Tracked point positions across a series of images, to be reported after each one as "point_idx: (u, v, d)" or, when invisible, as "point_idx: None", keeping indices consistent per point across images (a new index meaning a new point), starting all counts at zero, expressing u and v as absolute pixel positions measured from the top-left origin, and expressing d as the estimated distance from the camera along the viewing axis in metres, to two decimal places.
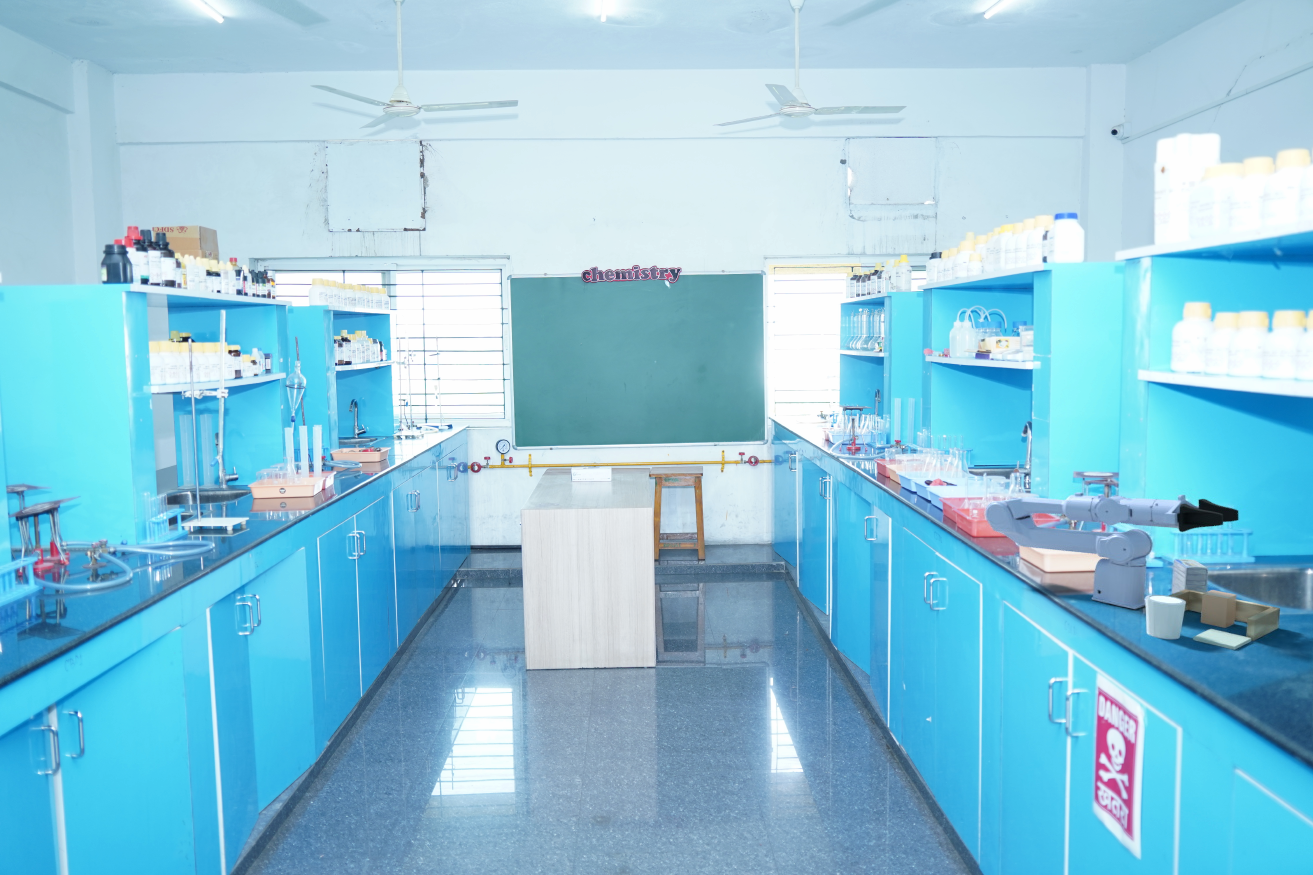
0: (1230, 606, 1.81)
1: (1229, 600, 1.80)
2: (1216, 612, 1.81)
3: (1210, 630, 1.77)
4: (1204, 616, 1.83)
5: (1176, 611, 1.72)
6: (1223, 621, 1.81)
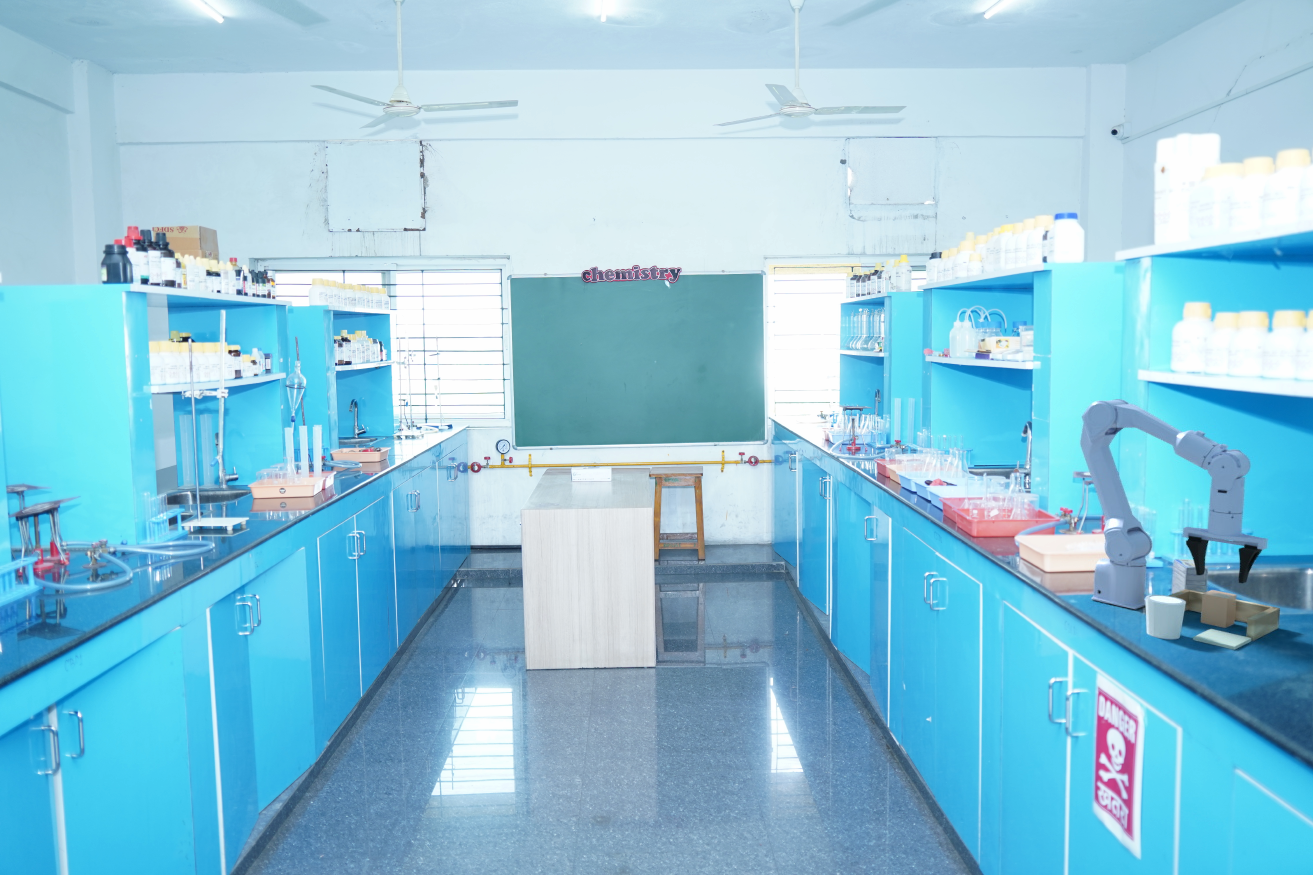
0: (1230, 606, 1.81)
1: (1229, 600, 1.80)
2: (1216, 612, 1.81)
3: (1210, 630, 1.77)
4: (1204, 616, 1.83)
5: (1176, 611, 1.72)
6: (1223, 621, 1.81)
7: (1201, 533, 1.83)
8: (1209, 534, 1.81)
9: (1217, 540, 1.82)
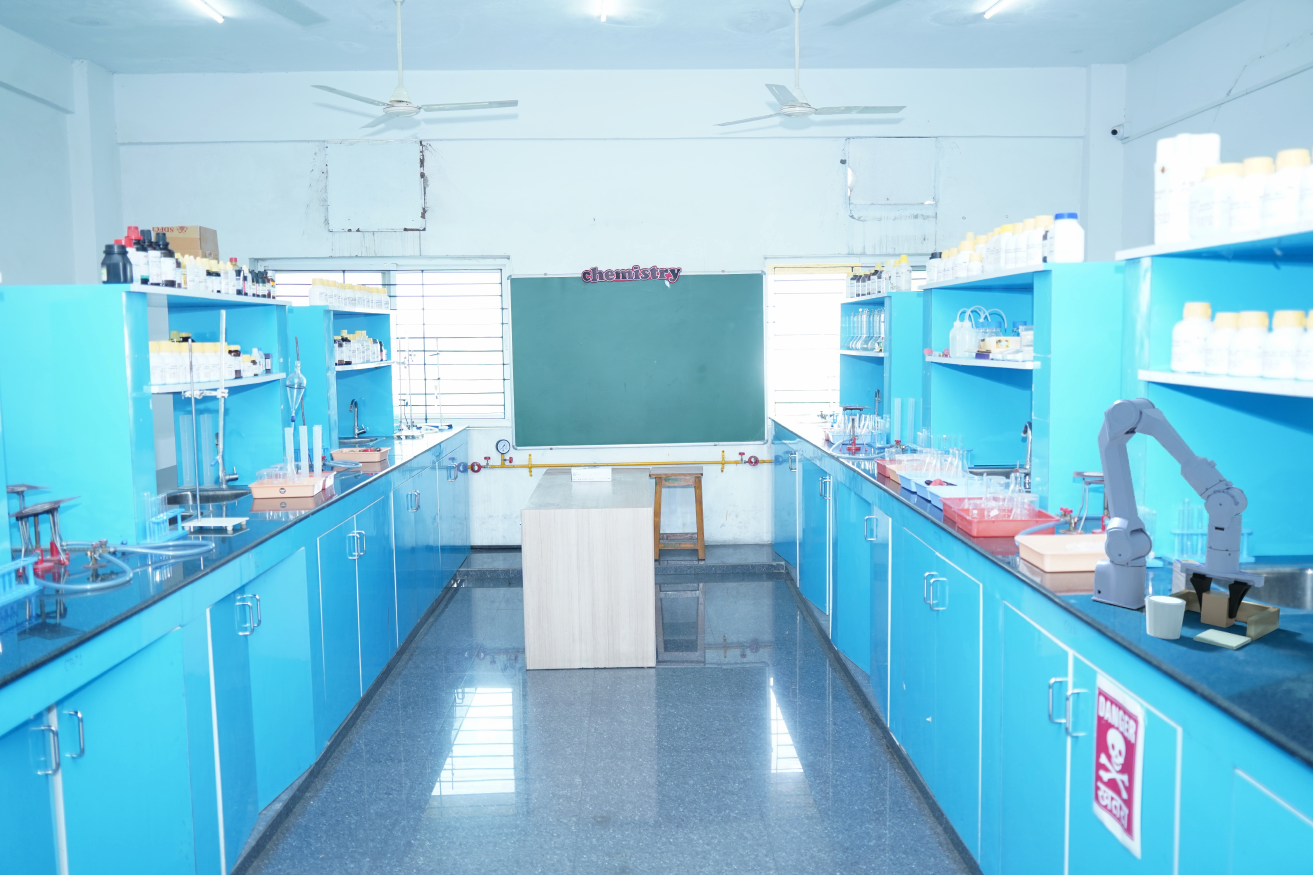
0: None
1: (1229, 600, 1.80)
2: (1216, 612, 1.81)
3: (1210, 630, 1.77)
4: (1204, 616, 1.83)
5: (1176, 611, 1.72)
6: (1223, 620, 1.81)
7: (1198, 569, 1.84)
8: (1206, 571, 1.82)
9: (1214, 576, 1.83)
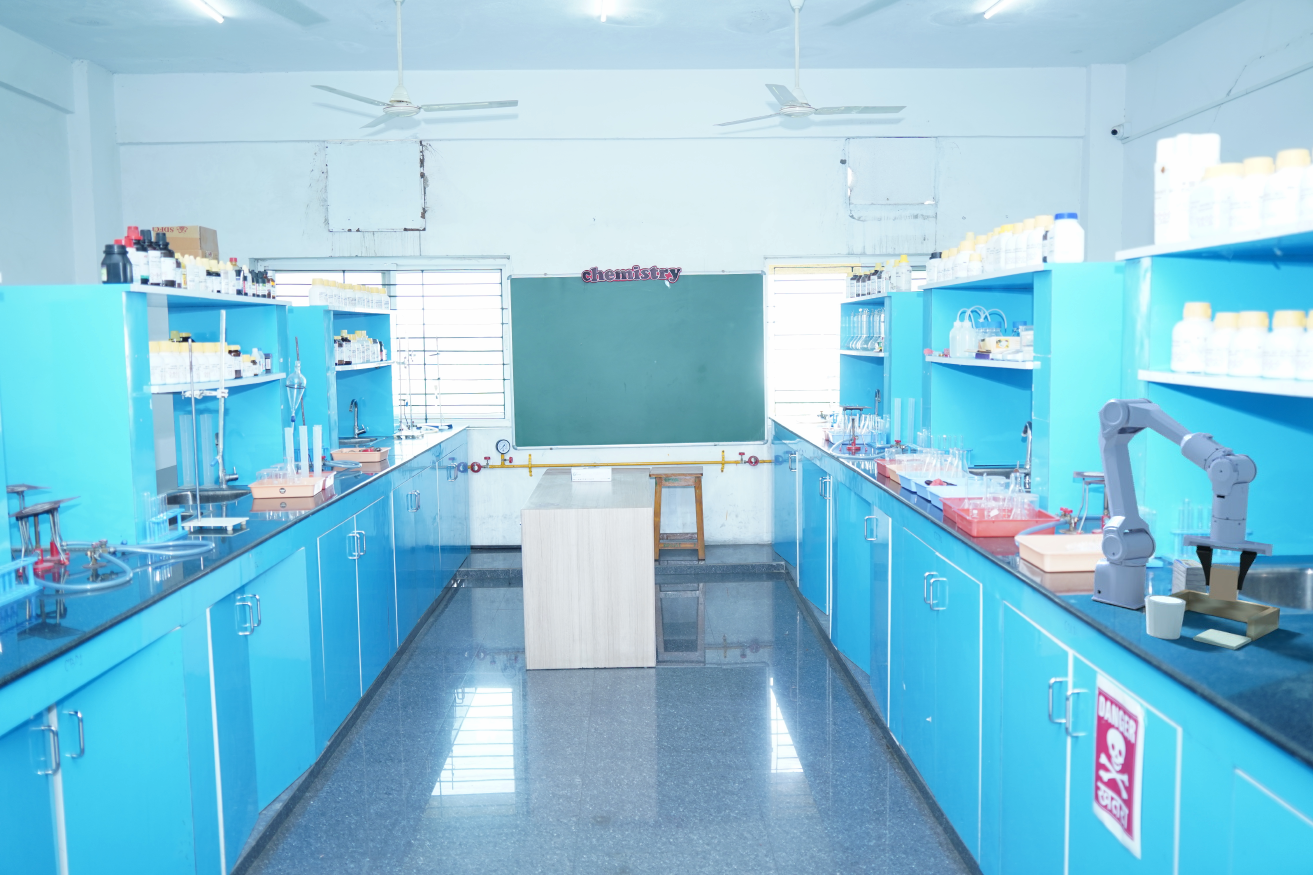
0: None
1: (1238, 573, 1.74)
2: (1226, 586, 1.75)
3: (1210, 630, 1.77)
4: (1212, 591, 1.76)
5: (1176, 611, 1.72)
6: (1233, 594, 1.74)
7: (1205, 541, 1.76)
8: (1215, 542, 1.75)
9: (1220, 548, 1.76)
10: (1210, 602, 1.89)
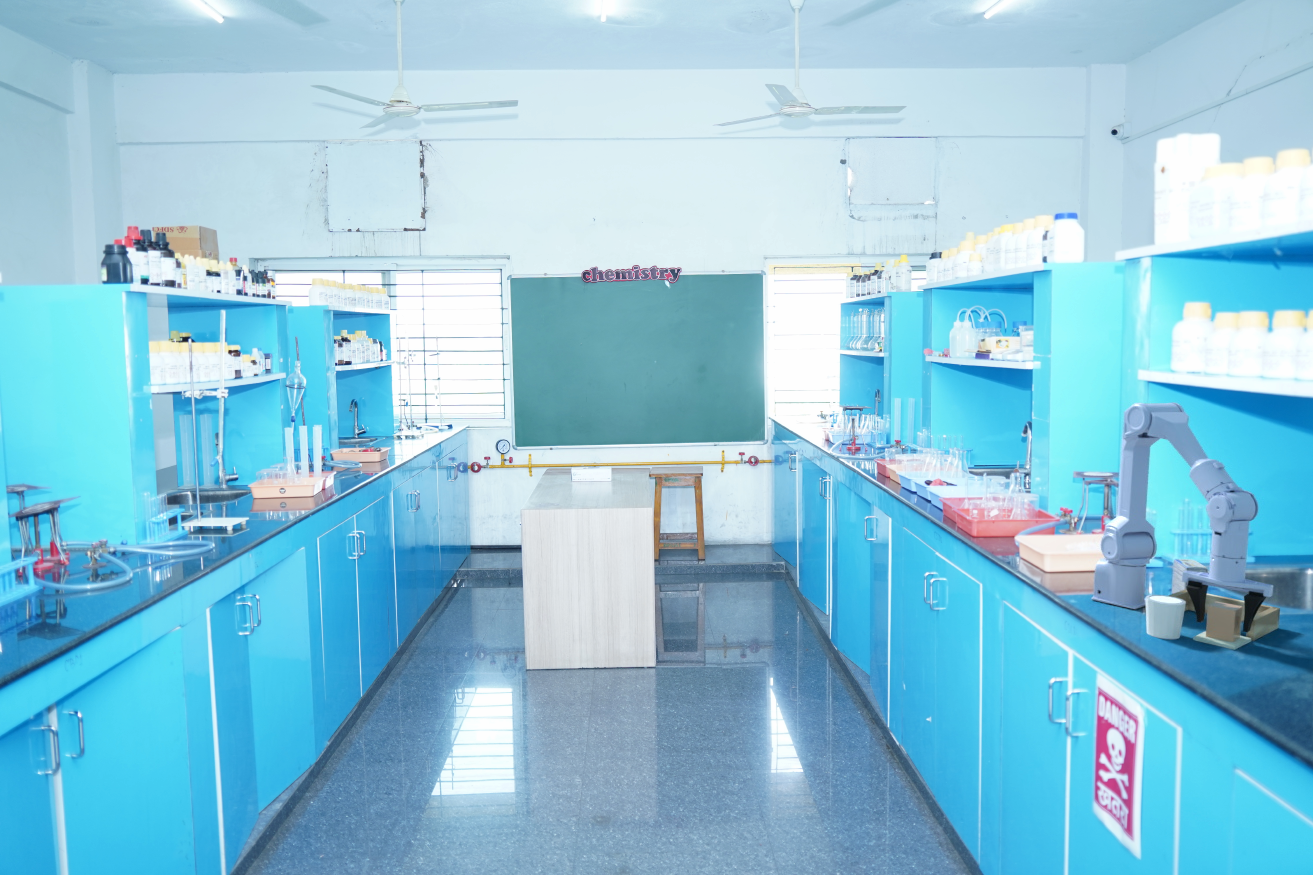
0: (1237, 618, 1.70)
1: (1236, 612, 1.70)
2: (1223, 625, 1.71)
3: None
4: (1209, 630, 1.72)
5: (1176, 611, 1.72)
6: (1230, 635, 1.70)
7: (1203, 578, 1.72)
8: (1212, 580, 1.71)
9: (1219, 586, 1.72)
10: (1210, 602, 1.89)
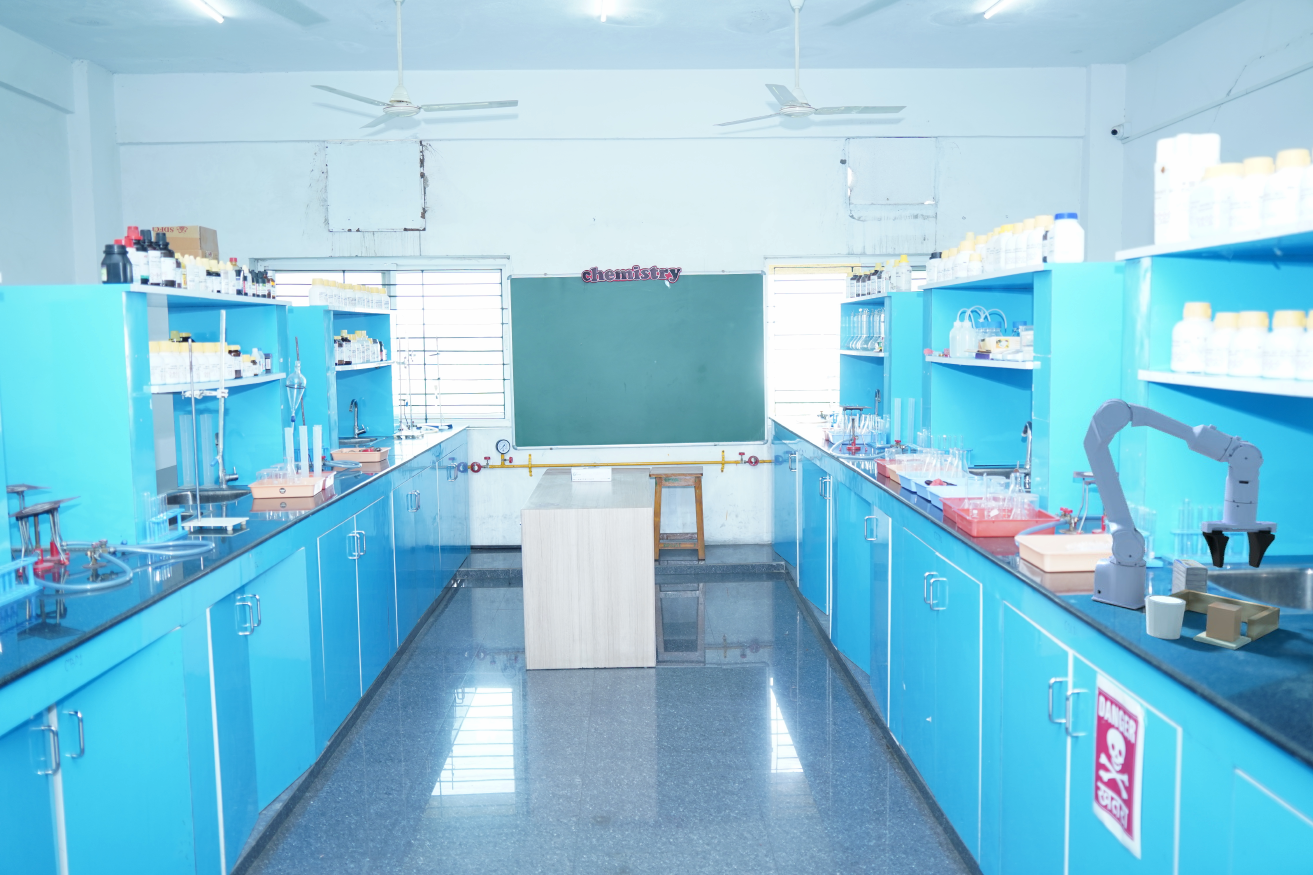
0: (1237, 618, 1.70)
1: (1236, 612, 1.70)
2: (1223, 625, 1.71)
3: None
4: (1209, 630, 1.72)
5: (1176, 611, 1.72)
6: (1230, 635, 1.70)
7: (1229, 526, 1.84)
8: (1239, 526, 1.83)
9: (1235, 530, 1.86)
10: (1210, 602, 1.89)
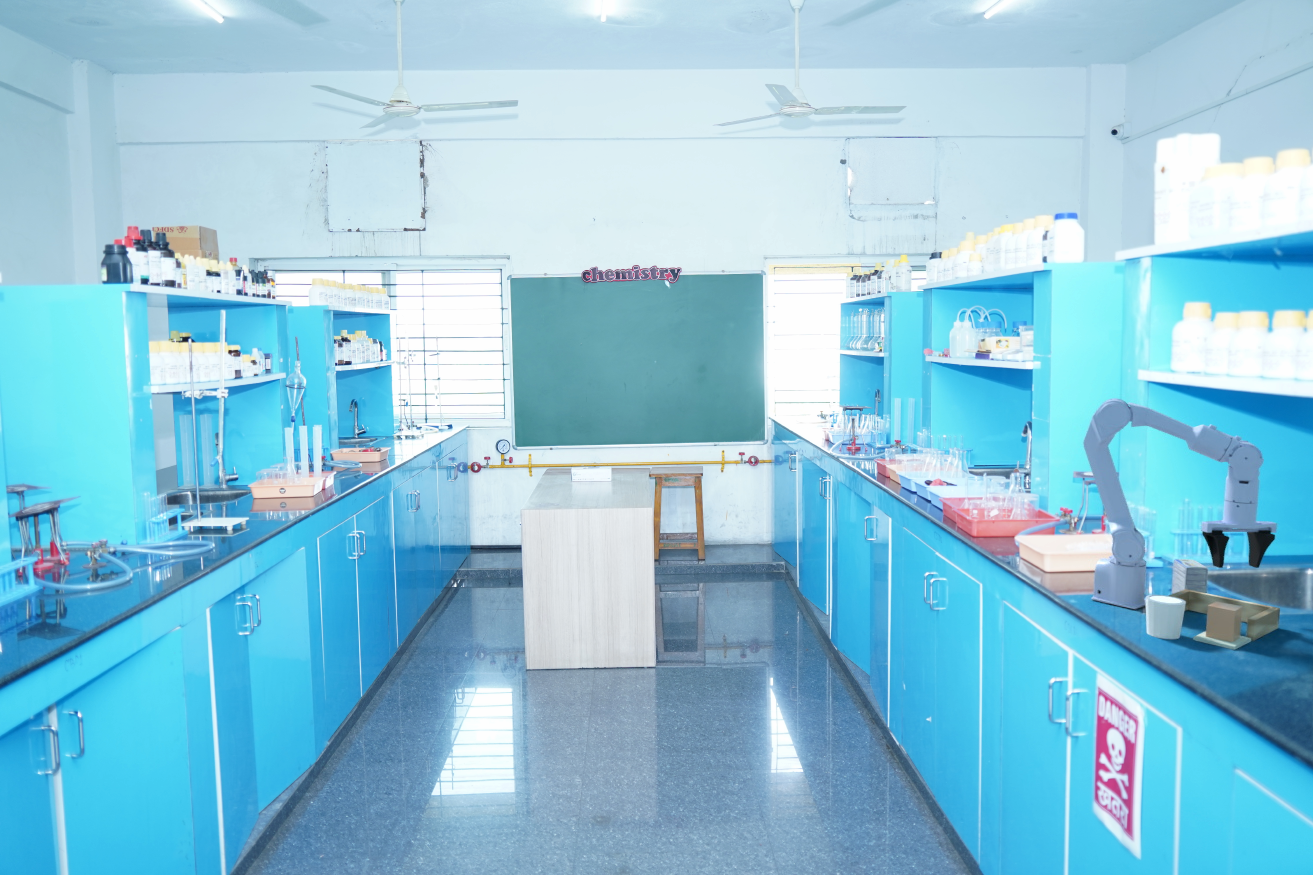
0: (1237, 618, 1.70)
1: (1236, 612, 1.70)
2: (1223, 625, 1.71)
3: None
4: (1209, 630, 1.72)
5: (1176, 611, 1.72)
6: (1230, 635, 1.70)
7: (1229, 526, 1.84)
8: (1239, 526, 1.83)
9: (1235, 530, 1.86)
10: (1210, 602, 1.89)
